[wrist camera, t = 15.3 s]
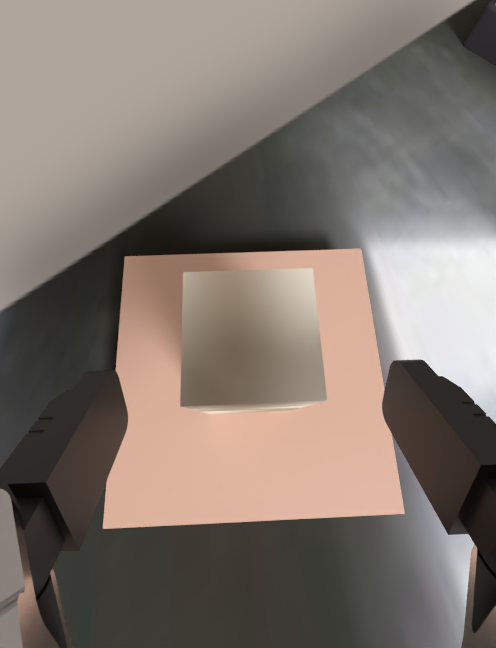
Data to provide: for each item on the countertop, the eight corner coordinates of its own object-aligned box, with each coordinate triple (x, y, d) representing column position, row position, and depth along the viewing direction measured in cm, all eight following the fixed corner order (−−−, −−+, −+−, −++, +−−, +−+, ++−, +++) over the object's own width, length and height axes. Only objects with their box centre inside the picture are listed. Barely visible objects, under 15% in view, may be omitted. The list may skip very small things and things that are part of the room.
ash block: (283, 334, 20) (312, 267, 11) (289, 410, 19) (327, 400, 10) (209, 337, 20) (183, 272, 11) (210, 414, 19) (180, 406, 10)
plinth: (347, 268, 25) (361, 248, 22) (381, 500, 20) (404, 513, 17) (138, 276, 24) (124, 256, 22) (123, 513, 20) (102, 528, 17)
